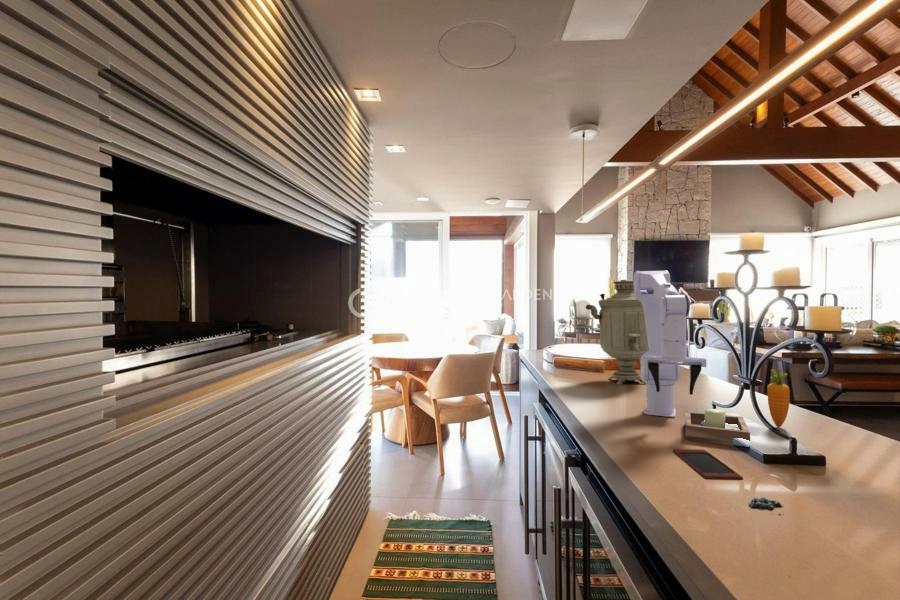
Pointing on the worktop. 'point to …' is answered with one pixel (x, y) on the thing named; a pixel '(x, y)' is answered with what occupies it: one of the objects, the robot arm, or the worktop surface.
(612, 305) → the samovar
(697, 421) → the walnut tray
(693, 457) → the smartphone
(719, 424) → the green cylinder
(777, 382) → the carrot
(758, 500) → the blueberries
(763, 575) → the worktop surface
